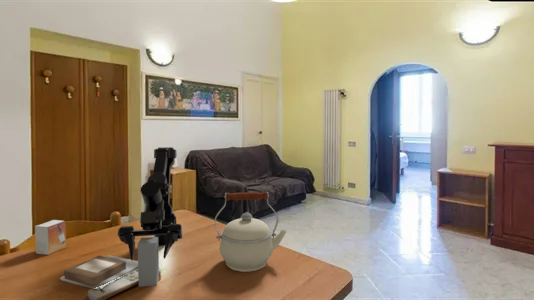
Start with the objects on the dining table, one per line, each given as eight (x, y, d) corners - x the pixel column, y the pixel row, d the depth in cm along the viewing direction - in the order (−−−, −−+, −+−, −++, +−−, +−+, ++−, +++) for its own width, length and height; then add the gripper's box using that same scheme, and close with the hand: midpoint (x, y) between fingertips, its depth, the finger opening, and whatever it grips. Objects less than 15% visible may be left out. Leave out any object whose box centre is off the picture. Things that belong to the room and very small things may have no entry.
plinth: (109, 257, 113) (108, 247, 113) (144, 264, 108) (144, 254, 107) (60, 280, 97) (59, 268, 96) (98, 290, 91) (98, 278, 91)
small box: (48, 255, 114) (47, 227, 114) (35, 254, 116) (34, 225, 115) (66, 247, 122) (65, 220, 121) (54, 245, 123) (53, 219, 123)
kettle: (214, 277, 99) (214, 199, 97) (214, 253, 117) (214, 187, 115) (292, 272, 103) (293, 197, 101) (281, 250, 121) (281, 186, 119)
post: (142, 278, 98) (141, 237, 97) (158, 277, 99) (158, 236, 98) (138, 286, 93) (137, 243, 92) (156, 285, 94) (155, 242, 93)
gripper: (118, 201, 97) (108, 250, 87) (181, 199, 101) (178, 245, 91) (125, 218, 105) (117, 265, 96) (183, 216, 109) (181, 260, 99)
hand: (148, 259), depth 95 cm, fingers open, 9 cm apart
